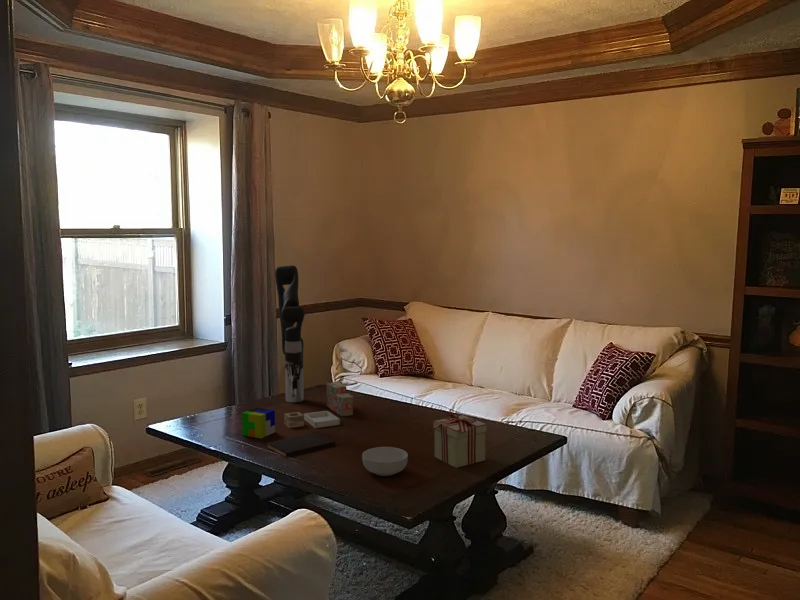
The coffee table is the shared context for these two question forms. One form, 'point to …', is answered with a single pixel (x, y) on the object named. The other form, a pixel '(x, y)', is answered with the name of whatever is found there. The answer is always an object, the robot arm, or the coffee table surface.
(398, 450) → the cereal bowl
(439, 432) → the gift box
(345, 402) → the stack of blocks
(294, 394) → the cylinder
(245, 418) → the puzzle toy
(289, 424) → the maple bore block
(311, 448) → the hardcover book
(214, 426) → the coffee table surface
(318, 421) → the tray
